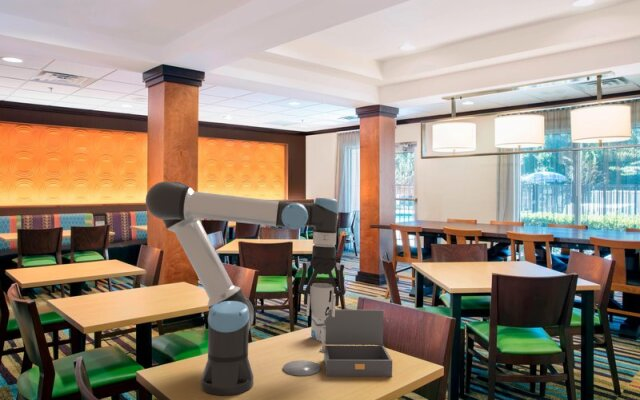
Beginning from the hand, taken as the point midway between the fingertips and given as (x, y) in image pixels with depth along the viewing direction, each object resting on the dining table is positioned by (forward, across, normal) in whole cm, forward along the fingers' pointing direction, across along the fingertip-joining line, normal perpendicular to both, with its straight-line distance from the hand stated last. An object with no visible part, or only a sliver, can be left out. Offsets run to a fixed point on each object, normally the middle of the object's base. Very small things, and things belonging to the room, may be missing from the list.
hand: (320, 315), depth 153 cm
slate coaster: (+18, -5, 0) cm, 18 cm away
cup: (0, 0, 0) cm, 0 cm away
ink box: (+18, +3, +32) cm, 36 cm away
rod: (+17, +6, +17) cm, 25 cm away
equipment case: (+17, +13, +1) cm, 21 cm away
